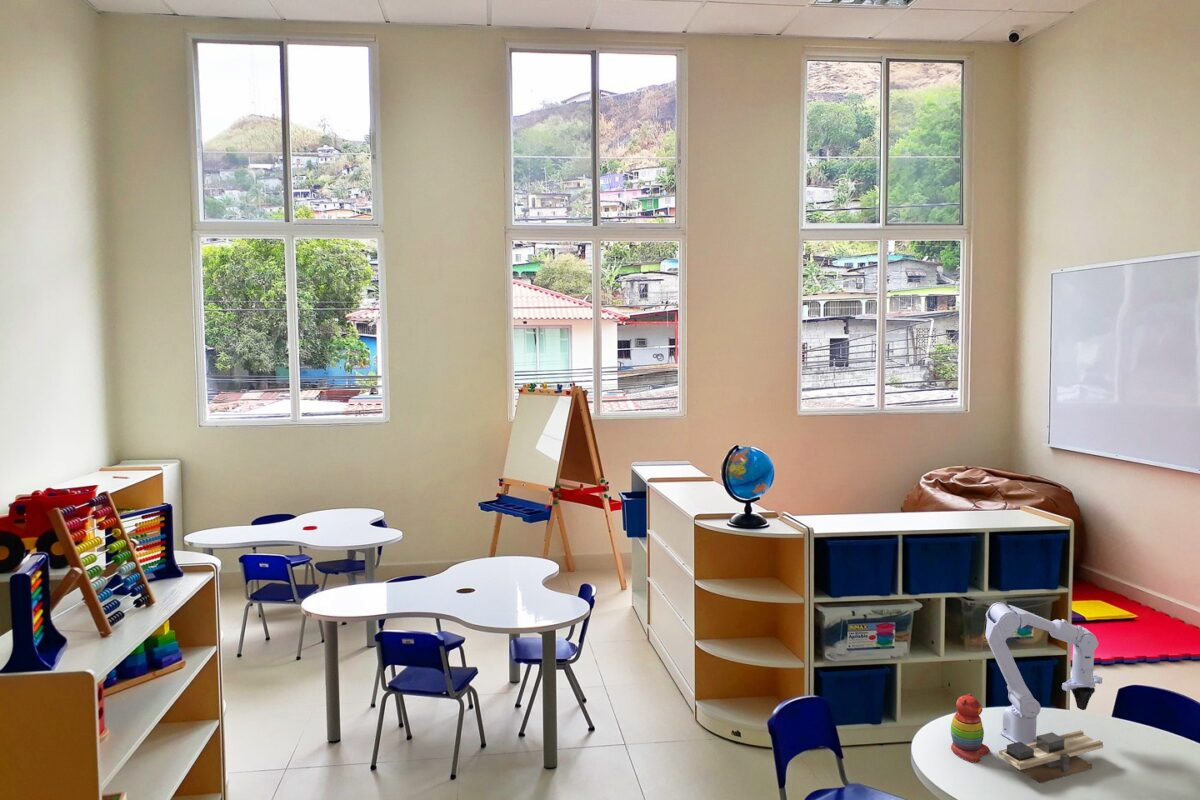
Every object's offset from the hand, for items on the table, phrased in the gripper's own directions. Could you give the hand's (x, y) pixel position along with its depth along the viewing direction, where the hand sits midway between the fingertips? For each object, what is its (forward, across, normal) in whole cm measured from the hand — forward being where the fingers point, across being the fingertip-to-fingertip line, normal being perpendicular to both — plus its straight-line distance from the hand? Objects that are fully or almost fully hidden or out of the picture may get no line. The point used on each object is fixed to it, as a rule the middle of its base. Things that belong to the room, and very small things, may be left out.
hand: (1081, 708), depth 267 cm
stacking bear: (+11, -37, +8) cm, 39 cm away
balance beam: (+5, -21, -8) cm, 23 cm away
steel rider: (+5, -21, -8) cm, 23 cm away
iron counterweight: (+5, -33, -8) cm, 34 cm away
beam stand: (+10, -21, -8) cm, 25 cm away
